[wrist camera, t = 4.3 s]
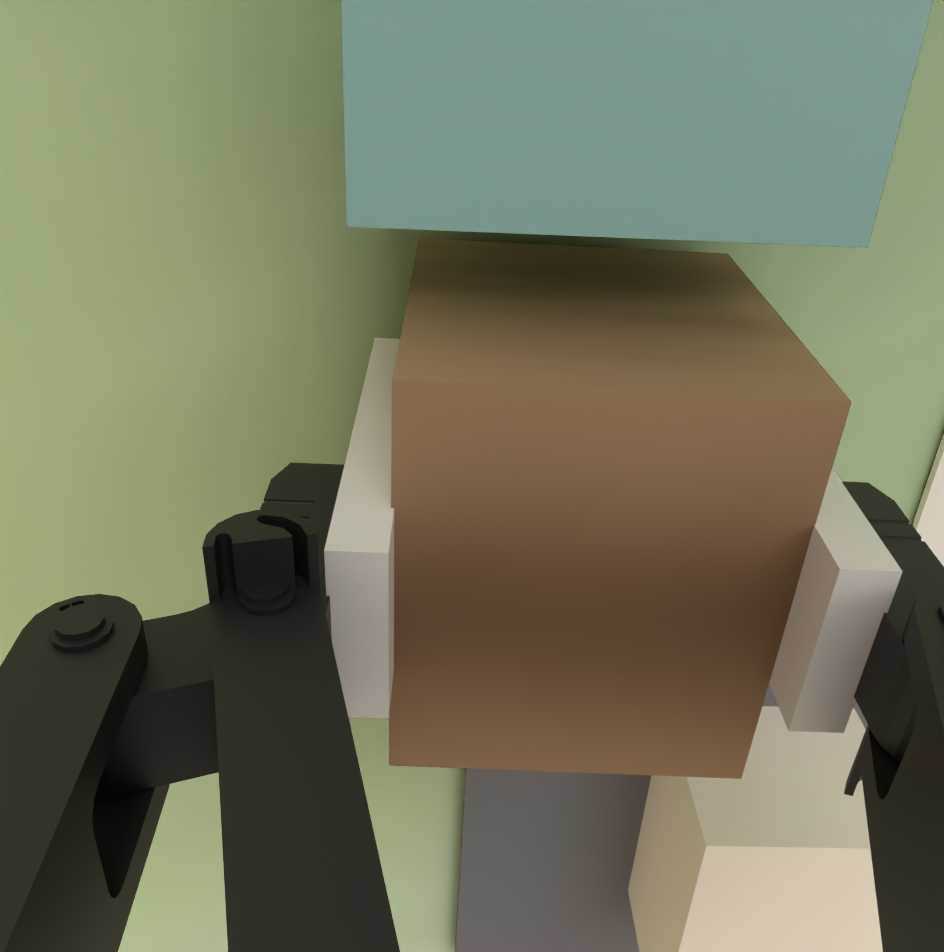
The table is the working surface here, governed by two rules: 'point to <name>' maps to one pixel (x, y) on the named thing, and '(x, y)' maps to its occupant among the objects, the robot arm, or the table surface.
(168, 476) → the table surface
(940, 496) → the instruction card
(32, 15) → the table surface
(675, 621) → the walnut brick
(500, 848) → the mat
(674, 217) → the teal brick
